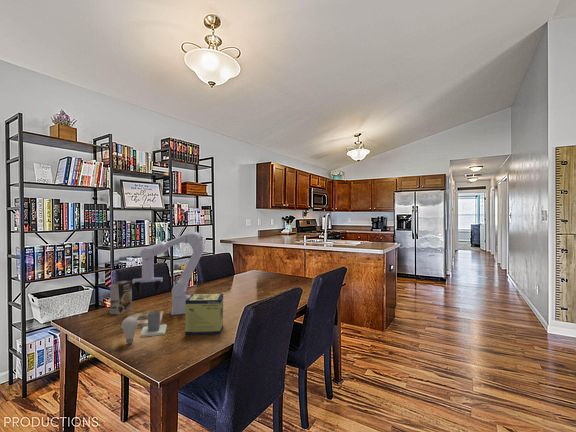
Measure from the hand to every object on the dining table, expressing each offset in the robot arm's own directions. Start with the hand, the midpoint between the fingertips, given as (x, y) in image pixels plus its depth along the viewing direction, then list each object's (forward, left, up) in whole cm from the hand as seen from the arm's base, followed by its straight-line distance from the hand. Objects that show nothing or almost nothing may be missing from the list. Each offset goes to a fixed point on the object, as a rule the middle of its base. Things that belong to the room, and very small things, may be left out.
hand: (147, 295), depth 163 cm
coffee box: (+14, -7, -10) cm, 18 cm away
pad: (-6, +28, -9) cm, 30 cm away
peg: (-6, +28, -8) cm, 30 cm away
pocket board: (0, +13, -9) cm, 16 cm away
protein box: (-28, +33, -10) cm, 44 cm away
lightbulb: (+2, +39, -10) cm, 40 cm away
